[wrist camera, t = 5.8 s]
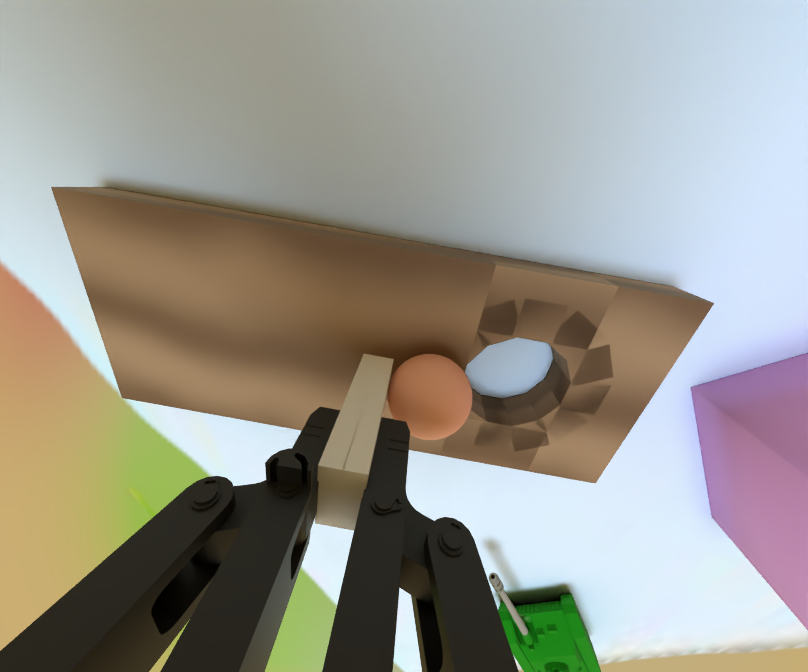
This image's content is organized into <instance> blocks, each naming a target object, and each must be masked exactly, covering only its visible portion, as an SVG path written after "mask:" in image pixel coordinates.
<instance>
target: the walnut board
mask: <svg viewBox="0 0 808 672" xmlns="http://www.w3.org/2000/svg"><path fill="white" fill-rule="evenodd" d="M51 188H52V191H53V194H54V197H55V200H56V203H57V206H58V209H59V212H60V215H61V218H62V221H63V224H64V227H65V230H66V233H67V236H68V239H69V241H70V244H71V247H72V250H73V253H74V256H75V259H76V262H77V265H78V268H79V271H80V274H81V277H82V280H83V283H84V286H85V289H86V292H87V295H88V298H89V301H90V304H91V307H92V310H93V313H94V316H95V319H96V322H97V325H98V328H99V331H100V334H101V337H102V340H103V343H104V346H105V349H106V352H107V354H108V357H109V360H110V363H111V366H112V369H113V372H114V375H115V378H116V381H117V384H118V387H119V390H120V393H121V396H122V398H125V399H131V400H136V401H142V402H147V403H153V404H159V405H164V406H170V407H175V408H181V409H186V410H192V411H197V412H203V413H208V414H214V415H220V416H225V417H231V418H236V419H242V420H247V421H253V422H258V423H264V424H269V425H275V426H280V427H286V428H292V429H297V430H302V429H303V427H304V426H305V424H306V422H307V420H308V418H309V416H310V414H312V413H313V412H314V411H315V410H317V409H318V408H319V407H325V408H331V409H336V410H341V408H342V406H343V403H344V401H345V398H346V396H347V394H348V391H349V389H350V386H351V384H352V381H353V379H354V376H355V374H356V372H357V369H358V367H359V364H360V362H361V359H362V357H363V354H369V355H374V356H380V357H385V358H391V359H394V360H393V366H392V372H391V378H392V376H393V374H394V373H395V371H396V370H397V369H398V368H399V366H401V365H402V364H403V363H404V362H405V361H407V360H408V359H410V358H412V357H415V356H418V355H423V354H437V355H441V356H444V357H446V358H448V359H450V360H452V361H453V362H455V363H456V364H457V365H458V366H459V367H460V368H461V369H462V370H463V371H464V373H465V369H466V366H467V364H468V363H469V362H470V361H471V360H472V359H474V358H475V357H476V356H477V355H478V354H479V353H480V352H481V351H482V350H484V349H485V348H486V347H487V346H489V345H492V344H496V343H499V342H503V341H506V340H510V339H513V338H517V337H518V338H524V339H529V340H535V341H541V342H546V343H548V344H549V345H550V346H551V347H552V352H553V357H554V360H553V362H552V364H551V366H550V369H549V371H548V373H547V375H546V378H545V379H544V380H543V381H542V382H540V383H539V384H538V385H536V386H535V387H534V388H533V389H531V390H530V391H529V392H527V393H526V394H521V395H517V396H513V397H509V398H505V399H501V398H495V397H489V396H484V395H480V394H479V393H477V392H476V391H475V390H473V389H472V388H471V389H472V407H471V410H470V413H469V416H468V418H467V420H466V421H465V423H464V424H463V425H462V426H461V427H460V429H458V430H457V431H456V432H455V433H453V434H452V435H450V436H448V437H445V438H442V439H438V440H423V439H419V438H416V437H414V436H411V435H410V441H409V450H413V451H419V452H424V453H430V454H436V455H441V456H447V457H452V458H458V459H463V460H469V461H474V462H480V463H485V464H491V465H497V466H502V467H508V468H513V469H519V470H524V471H530V472H535V473H541V474H546V475H552V476H557V477H563V478H569V479H574V480H580V481H585V482H591V483H596V482H597V480H598V479H599V477H600V476H601V474H602V473H603V471H604V469H605V468H606V466H607V465H608V463H609V462H610V460H611V459H612V457H613V456H614V454H615V453H616V451H617V450H618V448H619V447H620V445H621V444H622V442H623V441H624V439H625V438H626V436H627V435H628V433H629V432H630V430H631V429H632V427H633V426H634V424H635V422H636V421H637V419H638V418H639V416H640V415H641V413H642V412H643V410H644V409H645V407H646V406H647V404H648V403H649V401H650V400H651V398H652V397H653V395H654V394H655V392H656V391H657V389H658V388H659V386H660V385H661V383H662V382H663V380H664V379H665V377H666V375H667V374H668V372H669V371H670V369H671V368H672V366H673V365H674V363H675V362H676V360H677V359H678V357H679V356H680V354H681V353H682V351H683V350H684V348H685V347H686V345H687V344H688V342H689V341H690V339H691V338H692V336H693V335H694V333H695V332H696V330H697V328H698V327H699V325H700V324H701V322H702V321H703V319H704V318H705V316H706V315H707V313H708V312H709V310H710V309H711V307H712V306H713V304H714V303H712V302H710V301H707V300H705V299H702V298H700V297H698V296H695V295H693V294H690V293H688V292H685V291H683V290H681V289H678V288H676V287H673V286H667V285H661V284H655V283H650V282H644V281H638V280H633V279H627V278H621V277H615V276H610V275H604V274H598V273H593V272H587V271H581V270H575V269H570V268H564V267H558V266H553V265H547V264H541V263H536V262H530V261H524V260H518V259H513V258H507V257H501V256H496V255H490V254H484V253H478V252H473V251H467V250H461V249H456V248H450V247H444V246H438V245H433V244H427V243H421V242H416V241H410V240H404V239H398V238H393V237H387V236H381V235H376V234H370V233H364V232H358V231H353V230H347V229H341V228H336V227H330V226H324V225H318V224H313V223H307V222H301V221H296V220H290V219H284V218H278V217H273V216H267V215H261V214H256V213H250V212H244V211H238V210H233V209H227V208H221V207H216V206H210V205H204V204H198V203H193V202H187V201H181V200H176V199H170V198H164V197H158V196H153V195H147V194H141V193H136V192H130V191H124V190H118V189H113V188H107V187H51ZM391 378H390V380H391ZM383 417H384V418H389V419H394V418H393V417H392V415H391V412H390V409H389V406H388V395H387V401H386V406H385V411H384V416H383Z"/></svg>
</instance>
